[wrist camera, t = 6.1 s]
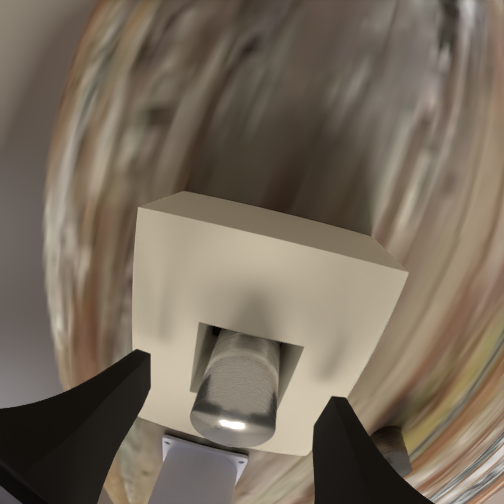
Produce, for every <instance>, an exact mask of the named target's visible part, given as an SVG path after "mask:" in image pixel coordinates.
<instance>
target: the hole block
mask: <svg viewBox="0 0 504 504" xmlns="http://www.w3.org/2000/svg"><path fill="white" fill-rule="evenodd" d="M408 274H409V272H408V271H407V270H406V269H405V268H404V267H403V266H402V265H401V264H400V263H399V262H398V261H397V260H396V259H395V258H394V257H393V256H392V255H391V254H390V253H389V252H388V251H387V250H386V249H385V248H384V247H383V246H381V245H380V244H379V243H378V242H377V241H376V240H375V239H374V238H373V237H372V236H368V235H365V234H361V233H358V232H354V231H351V230H347V229H343V228H340V227H336V226H332V225H328V224H325V223H321V222H317V221H313V220H309V219H305V218H301V217H297V216H293V215H289V214H285V213H281V212H277V211H273V210H269V209H265V208H260V207H256V206H252V205H247V204H243V203H239V202H234V201H230V200H225V199H221V198H216V197H211V196H206V195H202V194H197V193H192V192H187V191H182V192H179V193H176V194H173V195H170V196H167V197H164V198H161V199H159V200H156V201H153V202H150V203H148V204H145V205H142V206H139V207H138V214H137V224H136V235H135V248H134V264H133V288H132V343H133V351H134V350H135V349H139V350H142V351H145V352H147V353H150V354H151V389H150V391H149V394H148V396H147V398H146V401H145V403H144V405H143V407H142V409H141V411H140V413H139V414H138V417H141V418H143V419H146V420H148V421H151V422H154V423H157V424H160V425H163V426H166V427H169V428H172V429H175V430H178V431H181V432H184V433H188V434H191V435H195V436H198V437H202V438H205V437H203V436H202V435H201V434H199V433H198V432H197V431H196V430H195V429H194V427H193V426H192V424H191V421H190V413H191V410H192V407H193V404H194V402H195V399H196V396H197V393H198V391H199V388H200V385H201V382H202V380H203V377H204V374H205V371H206V369H207V366H208V363H209V360H210V358H211V355H212V352H213V349H214V347H215V344H216V341H217V338H218V336H216V335H212V334H213V328H214V326H217V327H221V328H225V329H229V330H233V331H237V332H241V333H245V334H249V335H253V336H258V337H262V338H267V339H271V340H276V341H280V342H282V345H281V348H280V359H279V380H278V399H277V416H276V430H275V433H274V435H273V437H272V438H271V439H270V440H268V441H267V442H265V443H263V444H261V445H258V446H254V447H247V448H251V449H256V450H262V451H268V452H275V453H283V454H291V455H300V456H307V455H308V453H309V452H310V451H311V449H312V443H313V428H314V424H315V422H316V421H317V419H318V418H319V416H320V414H321V413H322V411H323V410H324V408H325V406H326V405H327V403H328V401H329V400H330V398H331V396H338V397H346V398H347V397H348V395H349V393H350V392H351V390H352V388H353V387H354V385H355V383H356V382H357V380H358V378H359V376H360V375H361V373H362V371H363V369H364V368H365V366H366V364H367V362H368V360H369V358H370V357H371V355H372V353H373V351H374V349H375V347H376V345H377V343H378V341H379V339H380V337H381V335H382V333H383V331H384V329H385V327H386V325H387V323H388V321H389V319H390V316H391V314H392V312H393V310H394V308H395V305H396V303H397V301H398V298H399V296H400V294H401V291H402V289H403V286H404V284H405V282H406V279H407V277H408Z"/></svg>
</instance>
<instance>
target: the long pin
mask: <svg viewBox="0 0 504 504" xmlns="http://www.w3.org/2000/svg"><path fill="white" fill-rule="evenodd" d="M279 359H280V341H276V340H271V339H267V338H262V337H258V336H253V335H249V334H245V333H241V332H237V331H233V330H229V329H225V328H221V330H220V333H219V336H218V338H217V341H216V344H215V347H214V349H213V352H212V355H211V358H210V360H209V363H208V366H207V369H206V371H205V374H204V377H203V380H202V382H201V385H200V388H199V391H198V393H197V396H196V399H195V402H194V404H193V407H192V410H191V413H190V421H191V424H192V426H193V427H194V429H195V430H196V431H197V432H198V433H199V434H201V435H202V436H203V437H205V438H206V439H208V440H210V441H212V442H215V443H217V444H220V445H224V446H229V447H237V448H247V447H254V446H258V445H261V444H263V443H265V442H267V441H268V440H270V439H271V438H272V437H273V435H274V433H275V430H276V416H277V399H278V380H279Z"/></svg>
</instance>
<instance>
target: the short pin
mask: <svg viewBox="0 0 504 504" xmlns="http://www.w3.org/2000/svg"><path fill="white" fill-rule="evenodd" d="M370 438H371V440H372V441H373V443H374V444H375V446H376V447H377V448H378V450H379V451H380V452H381V454H382V455H383V456H384V458H385V459H386V460H387V461H388V463H389V464H390V465H391V466H392V467H393V468H394V469H395V471H396V472H397V473H398V474H399V475H400V476H401V477H402V478H403V477H405V476H406V475H408V474H409V473H410V472H411V471H412V467H411V463H410V460H409V456H408V453H407V449H406V446H405V443H404V439H403V436H402V433H401V430H400V428H399V427H397V426H389V427H385V428H382V429H380V430H378V431H376V432H374V433H373V434H372V435H371V436H370Z"/></svg>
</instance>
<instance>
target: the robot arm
mask: <svg viewBox="0 0 504 504" xmlns="http://www.w3.org/2000/svg"><path fill="white" fill-rule="evenodd" d="M150 389H151V354H150V353H147V352H145V351H142V350H139V349H135V350H134V351H132V352H131V353H129V354H128V355H127V356H125V357H124V358H122V359H121V360H119V361H118V362H116V363H115V364H114V365H112V366H111V367H109V368H107V369H106V370H104V371H103V372H101V373H100V374H98V375H96V376H95V377H93V378H91V379H89V380H87V381H86V382H84V383H82V384H80V385H78V386H76V387H74V388H72V389H70V390H68V391H66V392H63V393H61V394H59V395H56V396H53V397H50V398H48V399H45V400H42V401H38V402H35V403H31V404H27V405H22V406H17V407H11V408H3V409H0V504H97V502H98V499H99V496H100V493H101V490H102V487H103V484H104V482H105V479H106V476H107V474H108V471H109V469H110V466H111V464H112V462H113V459H114V457H115V454H116V452H117V450H118V449H119V447H120V445H121V443H122V441H123V440H124V438H125V436H126V435H127V433H128V431H129V430H130V428H131V426H132V425H133V423H134V421H135V419H136V418H137V416H138V414H139V413H140V411H141V409H142V407H143V405H144V403H145V401H146V398H147V396H148V394H149V391H150ZM162 447H163V465H162V468H161V470H160V473H159V476H158V478H157V481H156V483H155V486H154V489H153V491H152V494H151V496H150V499H149V502H148V504H232V500H233V494H234V489H235V485H236V483H237V481H238V480H239V478H240V476H241V474H242V472H243V470H244V468H245V466H246V464H247V462H248V459H249V457H248V456H247V455H243V454H238V453H233V452H228V451H224V450H220V449H215V448H211V447H207V446H204V445H200V444H196V443H193V442H189V441H186V440H182V439H179V438H176V437H173V436H170V435H163V438H162ZM312 451H313V467H314V483H315V503H314V504H435V503H433V502H431V501H430V500H429V499H427V498H426V497H424V496H423V495H422V494H420V493H419V492H418V491H417V490H415V489H414V488H413V487H412V486H411V485H410V484H409V483H407V482H406V481H405V480H404V479H403V478H402V477H401V476H400V475H399V474H398V473H397V472H396V471H395V469H394V468H393V467H392V466H391V465H390V464H389V463H388V461H387V460H386V459H385V458H384V456H383V455H382V454H381V452H380V451H379V450H378V448H377V447H376V446H375V444H374V443H373V441H372V440H371V438H370V437H369V435H368V434H367V432H366V430H365V429H364V427H363V426H362V424H361V422H360V421H359V419H358V417H357V416H356V414H355V412H354V411H353V409H352V407H351V405H350V404H349V402H348V400H347V399H346V397H338V396H331V398H330V400H329V401H328V403H327V405H326V406H325V408H324V410H323V411H322V413H321V414H320V416H319V418H318V419H317V421H316V422H315V424H314V428H313V443H312Z"/></svg>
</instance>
